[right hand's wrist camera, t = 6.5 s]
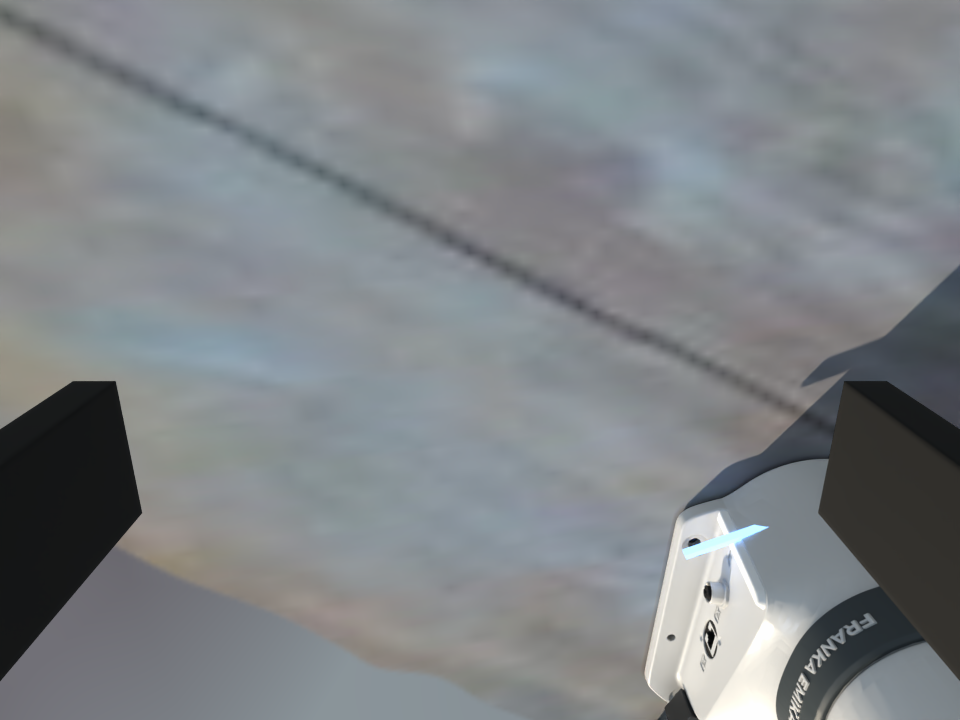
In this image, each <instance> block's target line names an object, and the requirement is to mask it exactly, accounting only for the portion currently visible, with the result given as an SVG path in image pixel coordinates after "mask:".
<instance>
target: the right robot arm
mask: <svg viewBox="0 0 960 720" xmlns="http://www.w3.org/2000/svg"><path fill="white" fill-rule="evenodd" d="M141 514H142V510H141V505H140V500H139V495H138V490H137V485H136V480H135V475H134V470H133V465H132V460H131V455H130V450H129V445H128V440H127V435H126V430H125V425H124V420H123V415H122V410H121V406H120V401H119V396H118V391H117V386H116V381H73V382H71V383H70V384H68V385H67V386H65V387H64V388H62V389H61V390H59V391H58V392H56V393H55V394H53V395H52V396H50V397H49V398H47V399H46V400H44V401H42V402H41V403H39V404H38V405H36V406H35V407H33V408H32V409H30V410H29V411H27V412H26V413H24V414H23V415H21V416H20V417H18V418H17V419H15V420H14V421H12V422H11V423H9V424H8V425H6V426H5V427H3V428H2V429H0V681H1V680H2V678H3V677H4V676H5V675H6V674H7V672H8V671H9V670H10V669H11V668H12V667H13V665H14V664H15V663H16V662H17V661H18V659H19V658H20V657H21V656H22V655H23V654H24V652H25V651H26V650H27V649H28V648H29V646H30V645H31V644H32V643H33V642H34V640H35V639H36V638H37V637H38V636H39V634H40V633H41V632H42V631H43V630H44V629H45V627H46V626H47V625H48V624H49V623H50V622H51V620H52V619H53V618H54V617H55V616H56V614H57V613H58V612H59V611H60V610H61V609H62V607H63V606H64V605H65V604H66V603H67V601H68V600H69V599H70V598H71V597H72V595H73V594H74V593H75V592H76V591H77V589H78V588H79V587H80V586H81V585H82V584H83V582H84V581H85V580H86V579H87V578H88V576H89V575H90V574H91V573H92V572H93V571H94V569H95V568H96V567H97V566H98V565H99V563H100V562H101V561H102V560H103V559H104V558H105V556H106V555H107V554H108V553H109V552H110V550H111V549H112V548H113V547H114V546H115V545H116V543H117V542H118V541H119V540H120V539H121V537H122V536H123V535H124V534H125V533H126V531H127V530H128V529H129V528H130V527H131V526H132V524H133V523H134V522H135V521H136V520H137V518H138V517H139V516H140V515H141ZM818 514H819V515H820V516H821V517H822V518H823V520H824V521H825V522H826V523H827V524H828V526H829V527H830V528H831V529H832V530H833V531H834V533H835V534H836V535H837V536H838V537H839V539H840V540H841V541H842V542H843V543H844V545H845V546H846V547H847V548H848V549H849V550H850V552H851V553H852V554H853V555H854V556H855V558H856V559H857V560H858V561H859V562H860V563H861V565H862V566H863V567H864V568H865V569H866V571H867V572H868V573H869V574H870V575H871V577H872V578H873V579H874V580H875V581H876V582H877V584H878V585H879V586H880V587H881V588H882V590H883V591H884V592H885V593H886V594H887V595H888V597H889V598H890V599H891V600H892V601H893V603H894V604H895V605H896V606H897V607H898V609H899V610H900V611H901V612H902V613H903V614H904V616H905V617H906V618H907V619H908V620H909V622H910V623H911V624H912V625H913V626H914V627H915V629H916V630H917V631H918V632H919V633H920V635H921V636H922V637H923V638H924V639H925V641H926V642H927V643H928V644H929V645H930V646H931V648H932V649H933V650H934V651H935V652H936V654H937V655H938V656H939V657H940V658H941V659H942V661H943V662H944V663H945V664H946V665H947V667H948V668H949V669H950V670H951V671H952V673H953V674H954V675H955V676H956V677H957V678H958V680H959V681H960V429H958V428H957V427H955V426H954V425H952V424H951V423H949V422H948V421H946V420H945V419H943V418H942V417H940V416H939V415H937V414H936V413H934V412H933V411H931V410H930V409H928V408H927V407H925V406H924V405H922V404H921V403H919V402H918V401H916V400H914V399H913V398H911V397H910V396H908V395H907V394H905V393H904V392H902V391H901V390H899V389H898V388H896V387H895V386H893V385H892V384H890V383H889V382H887V381H844V386H843V391H842V396H841V401H840V406H839V410H838V415H837V420H836V425H835V430H834V435H833V440H832V445H831V450H830V455H829V460H828V465H827V470H826V475H825V480H824V485H823V490H822V495H821V500H820V505H819V510H818Z"/></svg>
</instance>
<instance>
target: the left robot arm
mask: <svg viewBox="0 0 960 720" xmlns="http://www.w3.org/2000/svg"><path fill="white" fill-rule="evenodd" d="M828 460H829V459H812V460H805V461H799V462H794V463H790V464H787V465H783V466H780V467H778V468H775V469H772V470H770V471H768V472H766V473H764V474H762V475H760V476H758V477H756V478H754V479H753V480H751V481H749V482H748V483H746V484H745V485H743V486H742V487H740V488H739V489H737V490H736V491H734V492H733V493H731V494H729V495H727V496H725V497H723V498H721V499H716V500H712V501H709V502H705V503H701V504H698V505H695V506H692V507H690V508H688V509H686V510H684V511H683V512H682V513H681V514H680V515H679V516H678V518H677V521H676V524H675V529H674V534H673V538H672V543H671V548H670V552H669V557H668V562H667V567H666V571H665V576H664V581H663V586H662V590H661V595H660V600H659V605H658V609H657V614H656V619H655V623H654V628H653V633H652V638H651V642H650V647H649V652H648V657H647V662H646V667H645V678H646V680H647V683H648V685H649V687H650V688H651V689H652V690H653V691H654V692H655V693H656V694H657V695H658V696H660V697H661V698H662V699H664V700H665V701H667V702H668V704H667V705H666V707H665V711H666V714H667V718H668V720H960V681H959V680H958V678H957V677H956V676H955V675H954V674H953V673H952V671H951V670H950V669H949V668H948V667H947V665H946V664H945V663H944V662H943V661H942V659H941V658H940V657H939V656H938V655H937V654H936V652H935V651H934V650H933V649H932V648H931V646H930V645H929V644H928V643H927V642H926V641H925V639H924V638H923V637H922V636H921V635H920V633H919V632H918V631H917V630H916V629H915V627H914V626H913V625H912V624H911V623H910V622H909V620H908V619H907V618H906V617H905V616H904V614H903V613H902V612H901V611H900V610H899V609H898V607H897V606H896V605H895V604H894V603H893V601H892V600H891V599H890V598H889V597H888V595H887V594H886V593H885V592H884V591H883V590H882V588H881V587H880V586H879V585H878V584H877V582H876V581H875V580H874V579H873V578H872V577H871V575H870V574H869V573H868V572H867V571H866V569H865V568H864V567H863V566H862V565H861V563H860V562H859V561H858V560H857V559H856V558H855V556H854V555H853V554H852V553H851V552H850V550H849V549H848V548H847V547H846V546H845V545H844V543H843V542H842V541H841V540H840V539H839V537H838V536H837V535H836V534H835V533H834V531H833V530H832V529H831V528H830V527H829V526H828V524H827V523H826V522H825V521H824V520H823V518H822V517H821V516H820V515H819V514H818V510H819V505H820V500H821V495H822V490H823V485H824V480H825V475H826V470H827V465H828ZM693 538H697V540H696V541H695V542H691V543H690V542H689V541H690V540H691V539H693Z"/></svg>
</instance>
